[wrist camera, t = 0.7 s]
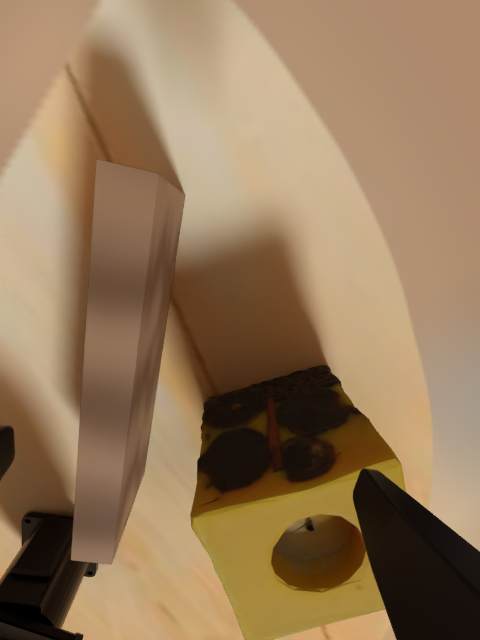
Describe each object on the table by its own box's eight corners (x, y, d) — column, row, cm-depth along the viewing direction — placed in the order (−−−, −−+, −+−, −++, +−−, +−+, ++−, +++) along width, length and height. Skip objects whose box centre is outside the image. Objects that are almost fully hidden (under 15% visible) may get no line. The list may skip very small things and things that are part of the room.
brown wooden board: (144, 472, 24) (111, 564, 18) (115, 468, 24) (70, 560, 17) (185, 195, 18) (158, 173, 11) (146, 186, 18) (96, 159, 11)
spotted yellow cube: (239, 493, 25) (245, 651, 16) (200, 397, 22) (178, 520, 13) (352, 461, 25) (429, 606, 15) (327, 359, 22) (403, 458, 12)
